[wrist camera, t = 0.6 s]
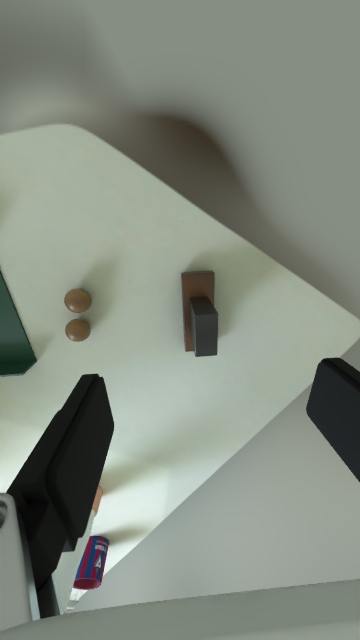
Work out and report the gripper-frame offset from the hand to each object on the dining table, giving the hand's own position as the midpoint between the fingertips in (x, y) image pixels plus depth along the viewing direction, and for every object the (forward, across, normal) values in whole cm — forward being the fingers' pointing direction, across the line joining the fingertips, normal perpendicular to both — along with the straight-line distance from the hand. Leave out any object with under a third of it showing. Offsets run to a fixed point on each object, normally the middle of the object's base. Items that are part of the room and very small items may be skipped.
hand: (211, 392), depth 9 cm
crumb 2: (+18, +14, +5) cm, 23 cm away
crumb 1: (+18, +13, +1) cm, 22 cm away
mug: (+20, +26, +68) cm, 75 cm away
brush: (+19, -2, +3) cm, 20 cm away
